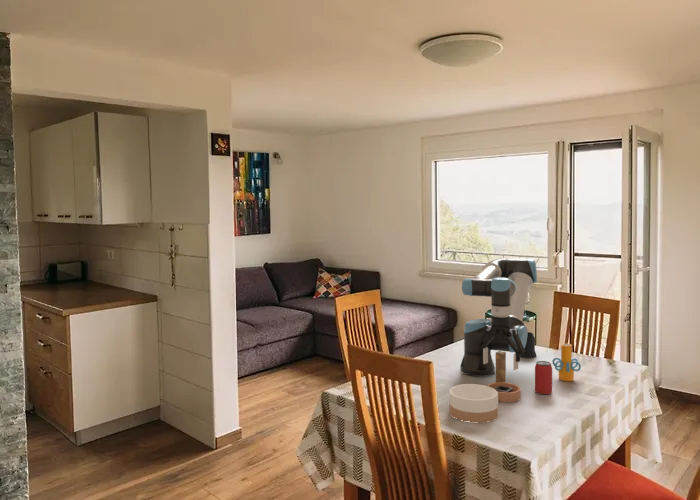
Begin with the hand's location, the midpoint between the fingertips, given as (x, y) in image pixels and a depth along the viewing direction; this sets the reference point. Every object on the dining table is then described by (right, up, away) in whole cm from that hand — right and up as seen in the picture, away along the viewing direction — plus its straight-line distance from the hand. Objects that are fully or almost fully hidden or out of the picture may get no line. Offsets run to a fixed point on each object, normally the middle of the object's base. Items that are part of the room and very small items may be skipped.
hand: (500, 366), depth 229 cm
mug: (+25, -4, +44) cm, 51 cm away
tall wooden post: (0, -8, +1) cm, 8 cm away
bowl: (-18, -12, -29) cm, 35 cm away
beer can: (+15, -9, -8) cm, 19 cm away
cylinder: (+30, -7, +6) cm, 31 cm away
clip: (-2, -9, -12) cm, 15 cm away
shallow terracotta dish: (-2, -9, -12) cm, 15 cm away
